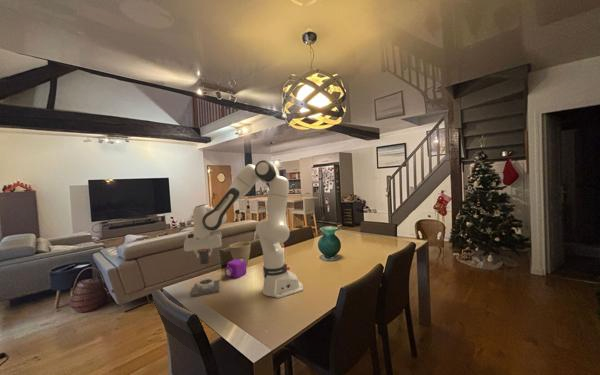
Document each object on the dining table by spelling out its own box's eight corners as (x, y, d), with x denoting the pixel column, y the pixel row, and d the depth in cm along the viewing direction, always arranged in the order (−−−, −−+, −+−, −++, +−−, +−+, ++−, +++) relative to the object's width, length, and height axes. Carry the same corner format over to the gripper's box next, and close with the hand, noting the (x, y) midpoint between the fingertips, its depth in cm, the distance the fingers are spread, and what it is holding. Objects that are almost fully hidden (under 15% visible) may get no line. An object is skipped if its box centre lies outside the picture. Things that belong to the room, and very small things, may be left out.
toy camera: (221, 279, 154) (220, 264, 154) (234, 271, 167) (233, 257, 166) (236, 281, 150) (235, 265, 150) (248, 272, 163) (247, 258, 163)
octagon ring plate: (219, 282, 150) (218, 275, 150) (218, 292, 136) (218, 284, 136) (194, 286, 146) (194, 279, 145) (191, 297, 132) (191, 289, 132)
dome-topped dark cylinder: (209, 260, 143) (208, 247, 143) (208, 263, 139) (207, 249, 138) (200, 262, 142) (199, 248, 142) (199, 264, 137) (198, 250, 137)
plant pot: (248, 261, 186) (246, 240, 186) (255, 266, 174) (253, 244, 173) (228, 265, 179) (227, 244, 178) (234, 271, 166) (232, 248, 165)
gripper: (221, 229, 146) (223, 252, 146) (184, 233, 140) (185, 257, 140) (221, 231, 140) (222, 255, 140) (182, 236, 134) (184, 261, 134)
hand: (204, 256), depth 140 cm, fingers closed on dome-topped dark cylinder, 5 cm apart
